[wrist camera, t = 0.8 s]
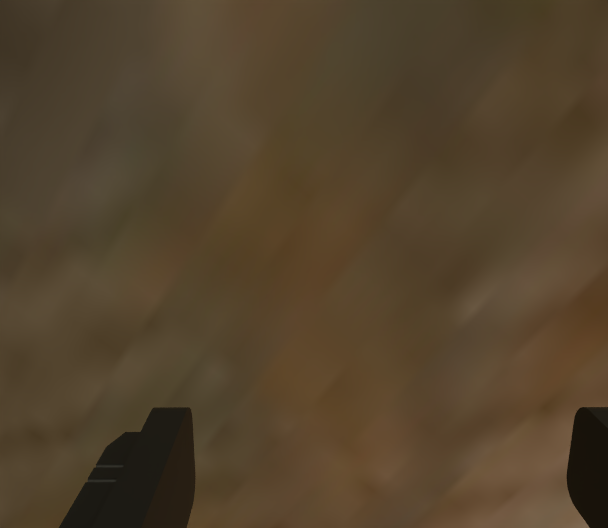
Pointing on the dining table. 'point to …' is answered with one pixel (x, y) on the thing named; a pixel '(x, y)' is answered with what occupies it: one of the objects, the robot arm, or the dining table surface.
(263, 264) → the dining table surface
